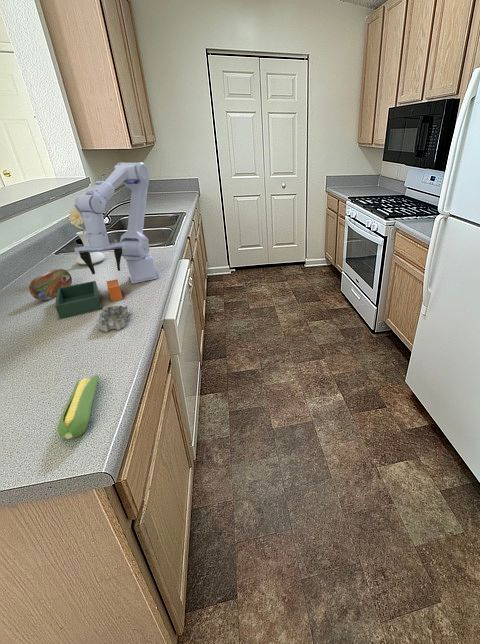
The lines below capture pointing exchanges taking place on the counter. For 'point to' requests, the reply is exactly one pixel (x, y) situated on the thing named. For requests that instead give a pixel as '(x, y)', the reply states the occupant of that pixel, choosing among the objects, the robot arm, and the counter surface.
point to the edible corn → (78, 409)
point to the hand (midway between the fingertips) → (106, 271)
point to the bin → (77, 299)
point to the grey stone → (112, 318)
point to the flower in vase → (83, 237)
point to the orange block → (114, 290)
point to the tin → (49, 284)
